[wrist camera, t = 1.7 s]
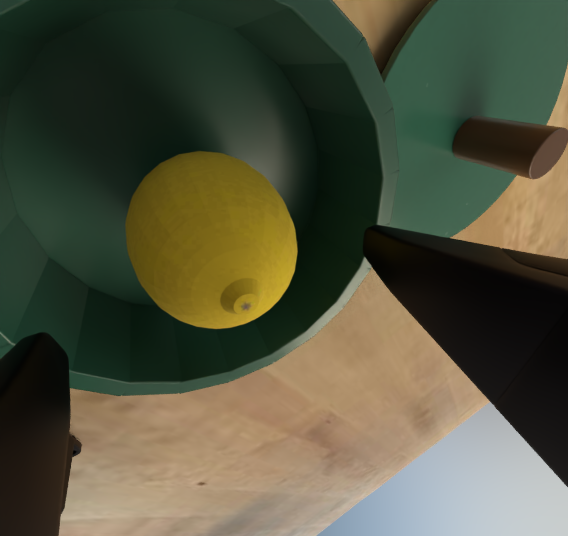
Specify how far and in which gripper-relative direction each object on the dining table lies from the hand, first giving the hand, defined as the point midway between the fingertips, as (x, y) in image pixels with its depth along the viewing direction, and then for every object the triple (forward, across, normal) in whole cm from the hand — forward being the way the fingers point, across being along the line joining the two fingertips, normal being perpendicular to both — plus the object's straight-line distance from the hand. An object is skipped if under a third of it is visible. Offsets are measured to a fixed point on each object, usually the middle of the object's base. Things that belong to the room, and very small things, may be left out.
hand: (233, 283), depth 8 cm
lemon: (+7, 0, 0) cm, 7 cm away
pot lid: (+7, -17, 0) cm, 18 cm away
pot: (+7, 0, 0) cm, 7 cm away
